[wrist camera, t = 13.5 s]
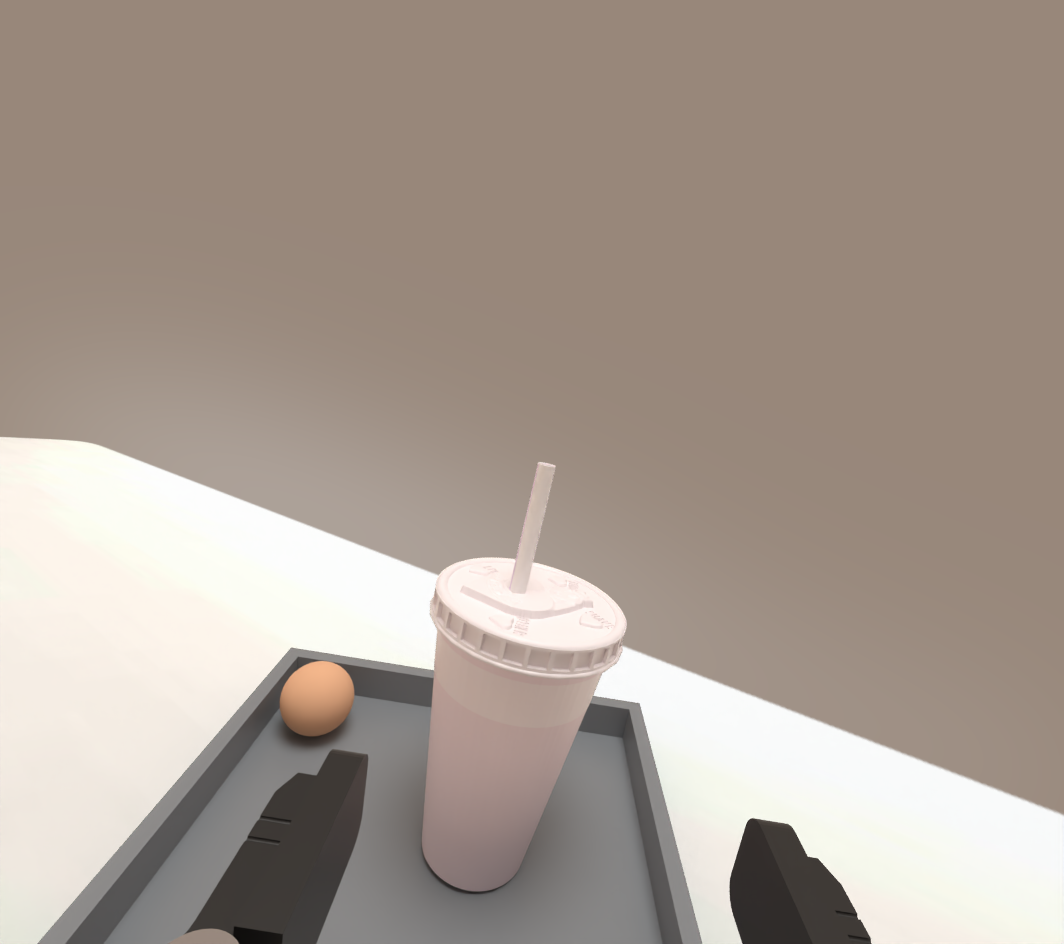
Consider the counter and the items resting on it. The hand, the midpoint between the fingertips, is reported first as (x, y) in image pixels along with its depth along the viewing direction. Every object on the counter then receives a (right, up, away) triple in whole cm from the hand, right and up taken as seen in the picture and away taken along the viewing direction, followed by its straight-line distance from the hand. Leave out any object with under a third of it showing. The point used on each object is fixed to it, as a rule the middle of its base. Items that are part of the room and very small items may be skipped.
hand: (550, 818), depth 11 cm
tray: (-4, -6, +9) cm, 11 cm away
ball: (-10, -4, +12) cm, 16 cm away
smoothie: (-3, -6, +8) cm, 11 cm away
